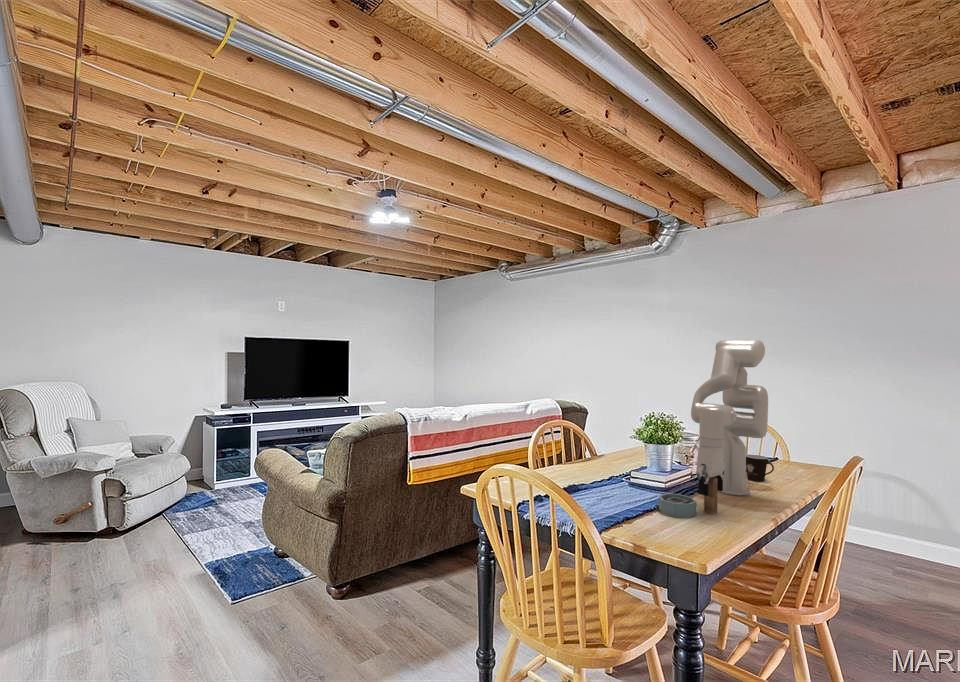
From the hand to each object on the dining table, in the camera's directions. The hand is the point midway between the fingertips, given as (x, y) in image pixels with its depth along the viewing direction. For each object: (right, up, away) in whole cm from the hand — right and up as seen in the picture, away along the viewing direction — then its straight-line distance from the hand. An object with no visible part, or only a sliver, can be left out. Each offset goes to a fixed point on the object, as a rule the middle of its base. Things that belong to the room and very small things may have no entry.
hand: (710, 492), depth 167 cm
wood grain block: (0, -7, 0) cm, 7 cm away
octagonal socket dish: (-11, -7, 0) cm, 13 cm away
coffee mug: (+40, -8, +42) cm, 58 cm away
